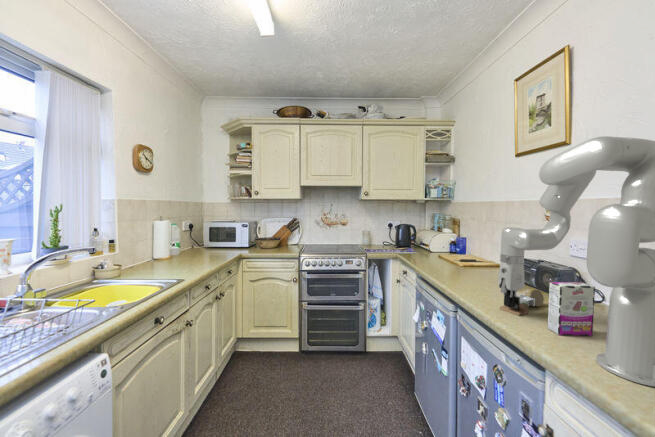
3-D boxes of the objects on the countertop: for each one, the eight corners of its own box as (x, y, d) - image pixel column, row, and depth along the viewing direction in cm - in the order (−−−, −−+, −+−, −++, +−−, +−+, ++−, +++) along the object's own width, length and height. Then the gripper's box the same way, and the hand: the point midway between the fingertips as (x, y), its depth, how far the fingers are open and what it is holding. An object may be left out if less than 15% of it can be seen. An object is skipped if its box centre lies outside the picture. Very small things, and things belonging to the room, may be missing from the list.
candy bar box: (578, 329, 90) (581, 281, 89) (593, 336, 85) (596, 286, 84) (545, 328, 90) (548, 281, 89) (558, 335, 85) (561, 285, 84)
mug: (520, 298, 120) (535, 282, 115) (535, 316, 111) (552, 299, 106) (506, 295, 118) (521, 279, 114) (520, 312, 110) (537, 295, 105)
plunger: (519, 310, 102) (520, 298, 102) (505, 306, 106) (506, 294, 106) (534, 305, 107) (535, 294, 107) (521, 301, 111) (521, 290, 111)
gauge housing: (519, 315, 100) (519, 306, 100) (499, 309, 106) (500, 300, 106) (528, 313, 103) (528, 304, 103) (508, 306, 109) (508, 298, 109)
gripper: (511, 263, 95) (508, 313, 96) (533, 259, 102) (530, 306, 103) (490, 259, 102) (488, 305, 103) (512, 256, 109) (509, 299, 110)
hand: (509, 305), depth 103 cm, fingers closed
